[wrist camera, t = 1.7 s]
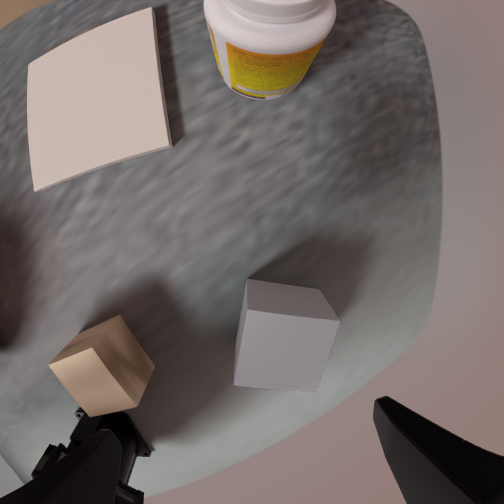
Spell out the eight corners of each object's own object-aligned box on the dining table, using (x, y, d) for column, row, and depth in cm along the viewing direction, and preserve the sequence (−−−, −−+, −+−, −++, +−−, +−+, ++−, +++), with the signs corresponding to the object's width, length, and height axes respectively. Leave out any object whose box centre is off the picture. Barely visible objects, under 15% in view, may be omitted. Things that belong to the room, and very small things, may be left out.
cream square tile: (173, 147, 17) (168, 145, 16) (42, 190, 17) (34, 191, 17) (155, 13, 15) (151, 6, 14) (35, 67, 15) (28, 64, 14)
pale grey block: (302, 350, 21) (315, 392, 16) (235, 342, 21) (233, 385, 16) (318, 288, 20) (340, 321, 15) (246, 278, 19) (247, 309, 15)
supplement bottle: (320, 77, 16) (384, -2, 6) (250, 118, 17) (255, 48, 7) (271, 19, 15) (290, -81, 5) (202, 56, 16) (167, -39, 6)
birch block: (155, 365, 21) (137, 406, 16) (111, 380, 21) (89, 417, 17) (120, 313, 20) (91, 347, 15) (78, 333, 20) (48, 365, 15)
